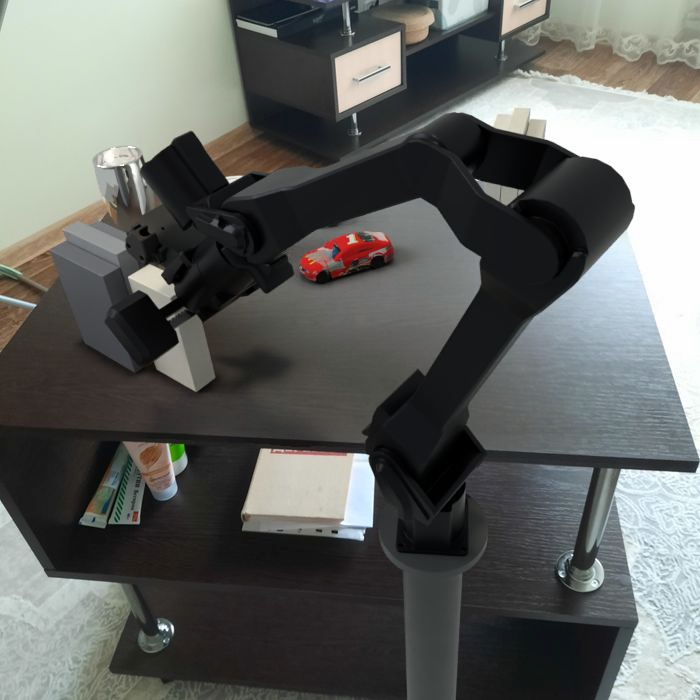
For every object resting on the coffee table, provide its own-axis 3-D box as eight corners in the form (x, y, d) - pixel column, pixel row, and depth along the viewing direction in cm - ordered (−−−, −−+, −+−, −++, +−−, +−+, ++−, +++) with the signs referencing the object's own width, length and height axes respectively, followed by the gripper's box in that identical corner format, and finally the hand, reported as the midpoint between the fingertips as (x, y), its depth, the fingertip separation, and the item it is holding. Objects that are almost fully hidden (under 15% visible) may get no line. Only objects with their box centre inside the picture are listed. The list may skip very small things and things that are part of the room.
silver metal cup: (178, 245, 107) (154, 149, 97) (147, 270, 102) (119, 171, 93) (142, 236, 110) (115, 141, 100) (110, 259, 105) (79, 162, 96)
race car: (307, 289, 96) (303, 263, 94) (294, 268, 100) (291, 243, 98) (399, 263, 99) (398, 238, 97) (383, 245, 103) (382, 220, 101)
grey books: (179, 343, 89) (150, 236, 79) (135, 373, 85) (98, 264, 75) (128, 315, 94) (94, 212, 85) (84, 343, 90) (44, 238, 81)
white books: (530, 237, 102) (540, 138, 93) (481, 233, 104) (487, 135, 95) (537, 203, 110) (547, 108, 100) (492, 199, 111) (497, 106, 102)
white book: (215, 377, 83) (192, 283, 75) (196, 392, 82) (170, 297, 73) (175, 355, 87) (149, 263, 79) (156, 369, 85) (127, 276, 77)
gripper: (244, 152, 71) (191, 221, 84) (85, 235, 60) (52, 301, 73) (313, 244, 72) (250, 299, 85) (168, 343, 61) (121, 389, 74)
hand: (173, 318), depth 79 cm, fingers open, 9 cm apart
